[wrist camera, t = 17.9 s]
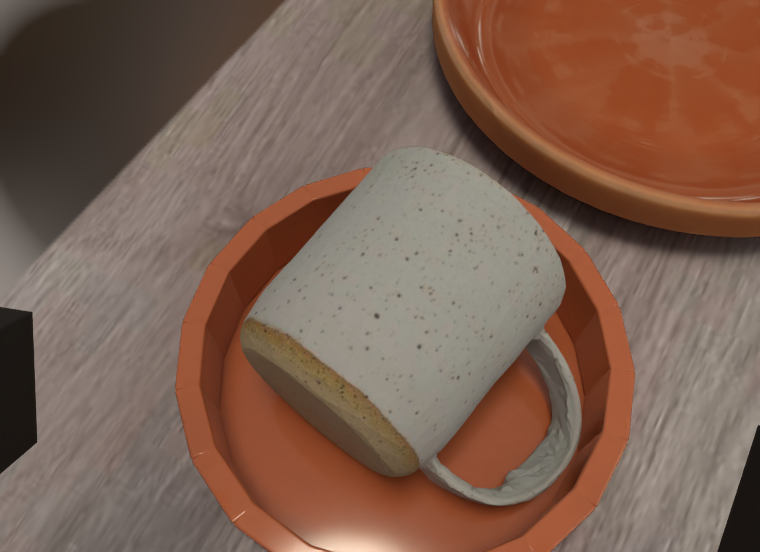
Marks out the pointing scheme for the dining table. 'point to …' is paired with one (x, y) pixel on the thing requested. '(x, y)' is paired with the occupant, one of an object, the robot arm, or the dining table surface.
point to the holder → (350, 477)
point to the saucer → (619, 101)
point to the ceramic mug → (417, 321)
